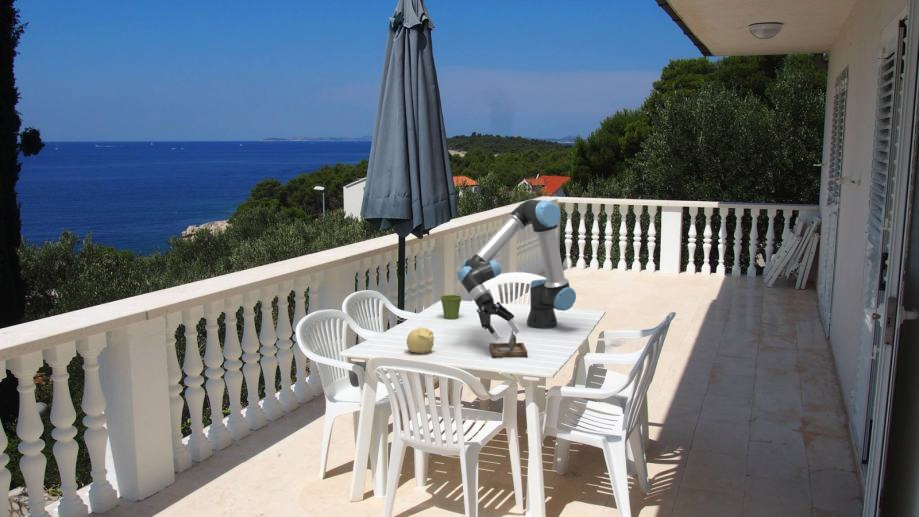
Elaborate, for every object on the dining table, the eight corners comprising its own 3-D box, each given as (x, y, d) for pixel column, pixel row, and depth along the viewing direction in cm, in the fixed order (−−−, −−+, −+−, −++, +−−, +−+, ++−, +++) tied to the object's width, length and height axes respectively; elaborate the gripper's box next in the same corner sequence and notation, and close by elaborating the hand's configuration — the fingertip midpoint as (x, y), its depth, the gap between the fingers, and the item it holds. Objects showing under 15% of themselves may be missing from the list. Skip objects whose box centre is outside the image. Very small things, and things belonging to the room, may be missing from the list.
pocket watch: (496, 349, 331) (495, 326, 329) (514, 348, 332) (514, 325, 330) (499, 354, 322) (499, 331, 321) (518, 353, 324) (518, 330, 322)
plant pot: (466, 316, 398) (466, 295, 396) (454, 321, 388) (454, 299, 386) (448, 314, 404) (447, 293, 403) (435, 318, 394) (435, 297, 393)
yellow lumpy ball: (431, 355, 325) (430, 331, 323) (404, 354, 327) (403, 330, 325) (436, 348, 336) (436, 325, 334) (410, 347, 338) (409, 324, 336)
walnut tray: (523, 348, 335) (523, 342, 335) (527, 357, 320) (527, 351, 320) (489, 348, 335) (489, 343, 334) (492, 358, 320) (492, 352, 320)
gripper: (494, 297, 345) (520, 334, 338) (458, 306, 327) (485, 346, 319) (503, 287, 341) (530, 325, 333) (467, 296, 322) (495, 336, 315)
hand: (508, 335), depth 326 cm, fingers open, 13 cm apart
